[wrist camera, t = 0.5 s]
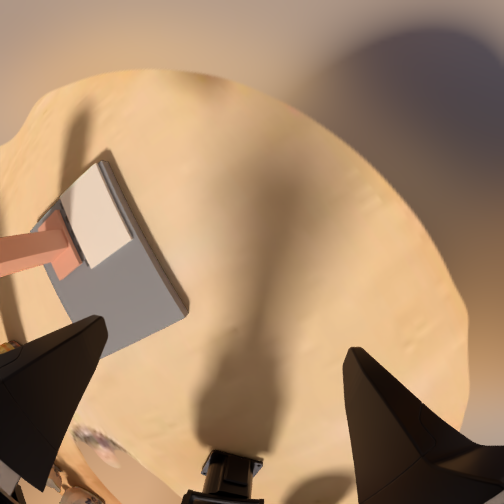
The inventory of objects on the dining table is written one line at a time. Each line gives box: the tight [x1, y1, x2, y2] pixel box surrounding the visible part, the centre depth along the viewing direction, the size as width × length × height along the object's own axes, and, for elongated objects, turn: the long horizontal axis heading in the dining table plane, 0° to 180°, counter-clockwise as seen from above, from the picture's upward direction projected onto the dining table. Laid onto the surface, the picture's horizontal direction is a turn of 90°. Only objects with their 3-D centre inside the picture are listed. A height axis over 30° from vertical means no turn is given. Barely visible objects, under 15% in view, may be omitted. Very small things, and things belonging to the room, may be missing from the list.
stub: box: [0, 210, 82, 281], centre depth 17 cm, size 6×4×11 cm, turn 30°
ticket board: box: [30, 160, 189, 359], centre depth 23 cm, size 16×12×2 cm
